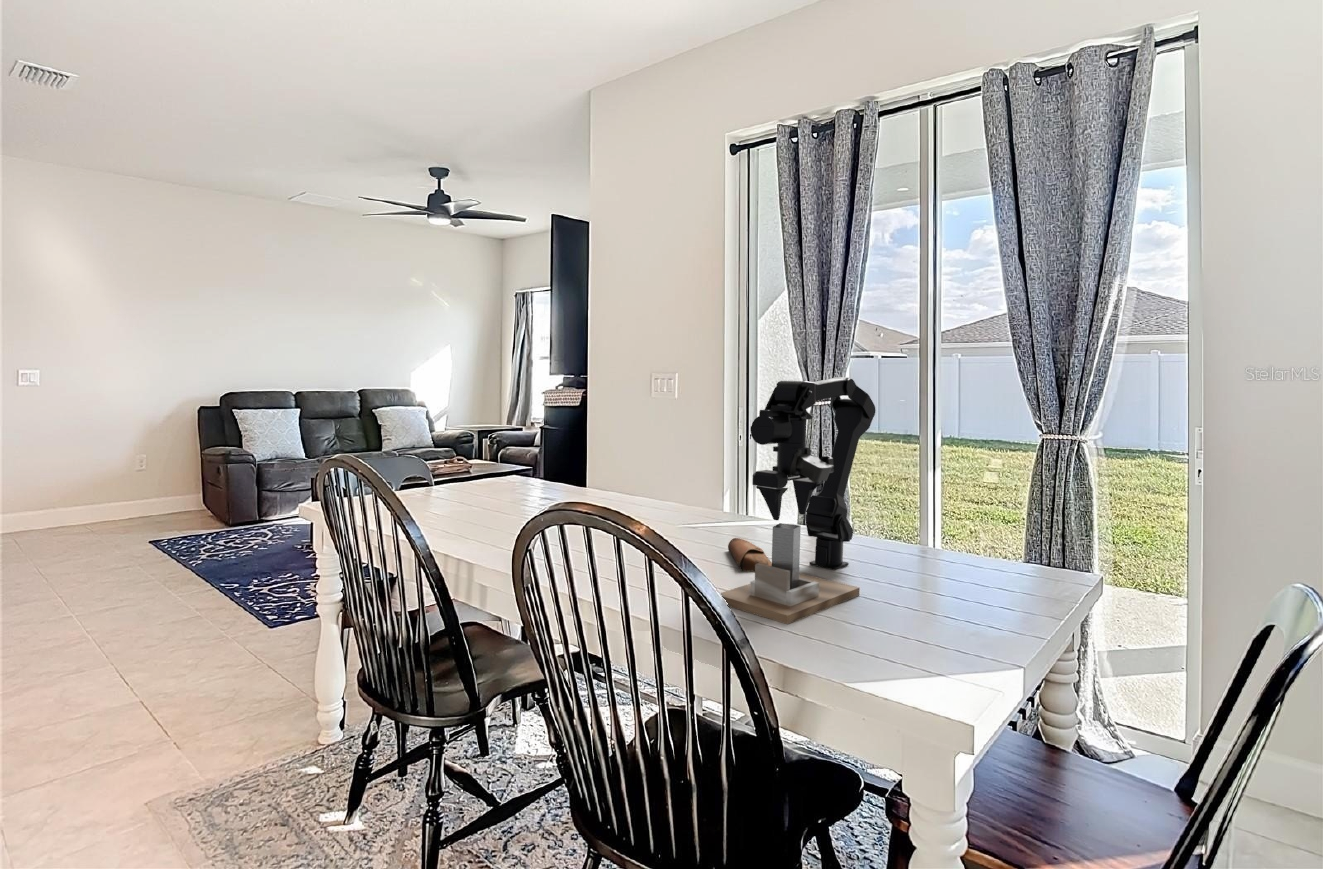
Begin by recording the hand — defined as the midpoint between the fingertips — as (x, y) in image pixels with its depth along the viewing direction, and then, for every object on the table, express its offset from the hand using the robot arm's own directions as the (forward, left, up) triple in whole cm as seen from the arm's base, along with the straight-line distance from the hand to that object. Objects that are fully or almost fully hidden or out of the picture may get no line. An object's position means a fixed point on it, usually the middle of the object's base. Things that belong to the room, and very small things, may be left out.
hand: (789, 517), depth 148 cm
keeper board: (+11, +8, -13) cm, 19 cm away
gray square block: (+14, +9, -12) cm, 20 cm away
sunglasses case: (-6, -14, -14) cm, 21 cm away
